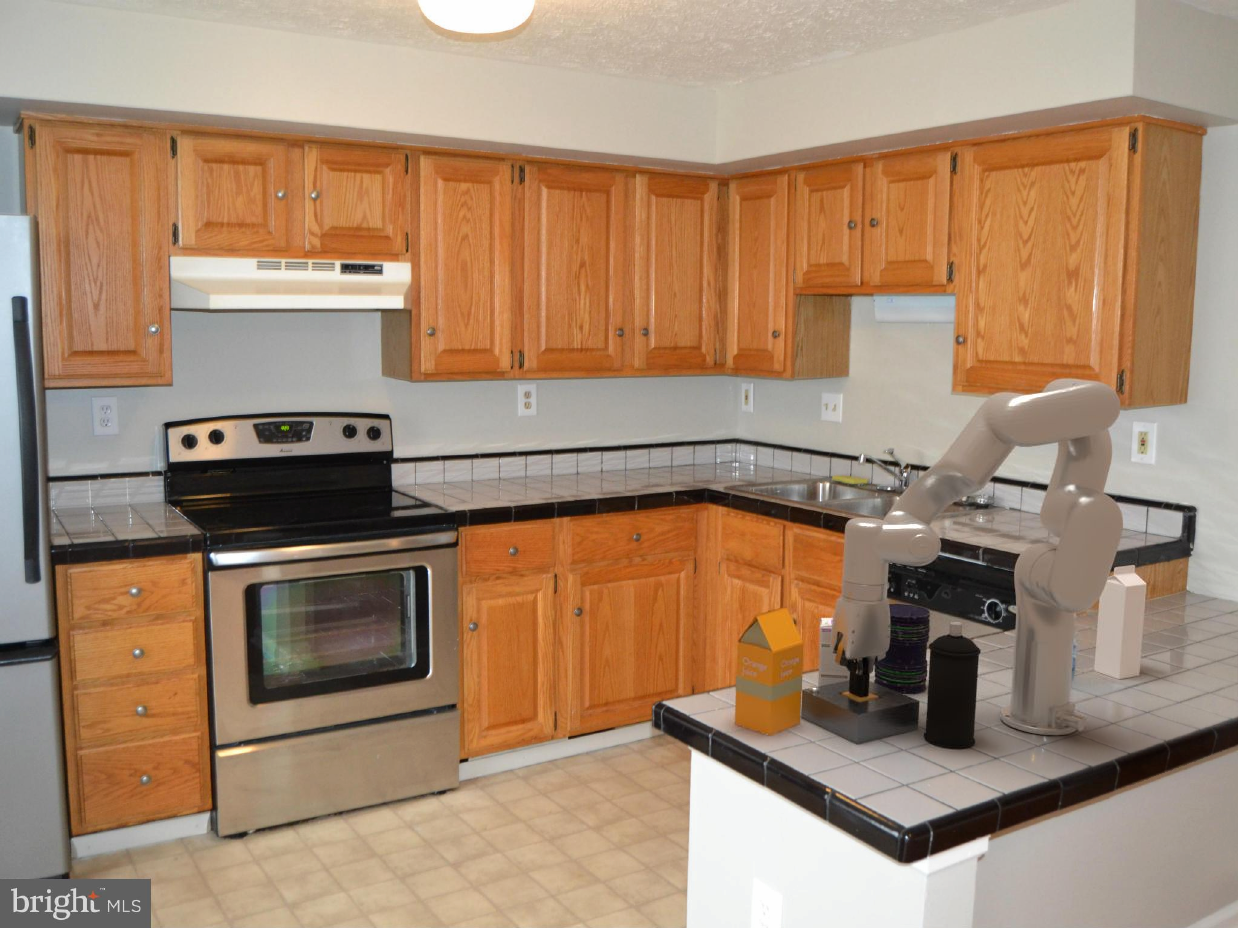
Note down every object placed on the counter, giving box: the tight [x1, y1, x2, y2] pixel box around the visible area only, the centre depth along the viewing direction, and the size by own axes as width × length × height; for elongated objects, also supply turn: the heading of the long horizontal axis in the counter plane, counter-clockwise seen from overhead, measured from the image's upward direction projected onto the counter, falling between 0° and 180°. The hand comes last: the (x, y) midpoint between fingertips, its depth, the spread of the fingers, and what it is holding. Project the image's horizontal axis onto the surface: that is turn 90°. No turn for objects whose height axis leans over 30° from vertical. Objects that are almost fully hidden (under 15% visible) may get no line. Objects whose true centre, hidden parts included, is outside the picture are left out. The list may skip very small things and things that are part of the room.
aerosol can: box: [923, 621, 981, 750], centre depth 179 cm, size 8×8×20 cm
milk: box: [1093, 564, 1148, 680], centre depth 216 cm, size 6×6×22 cm
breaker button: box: [842, 692, 879, 703], centre depth 187 cm, size 4×4×3 cm
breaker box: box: [800, 680, 921, 745], centre depth 187 cm, size 14×14×6 cm
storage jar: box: [873, 603, 931, 695], centre depth 206 cm, size 10×10×15 cm
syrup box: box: [817, 617, 850, 687], centre depth 199 cm, size 6×6×14 cm
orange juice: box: [734, 606, 804, 737], centre depth 185 cm, size 8×9×20 cm
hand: (858, 694), depth 187 cm, fingers closed
